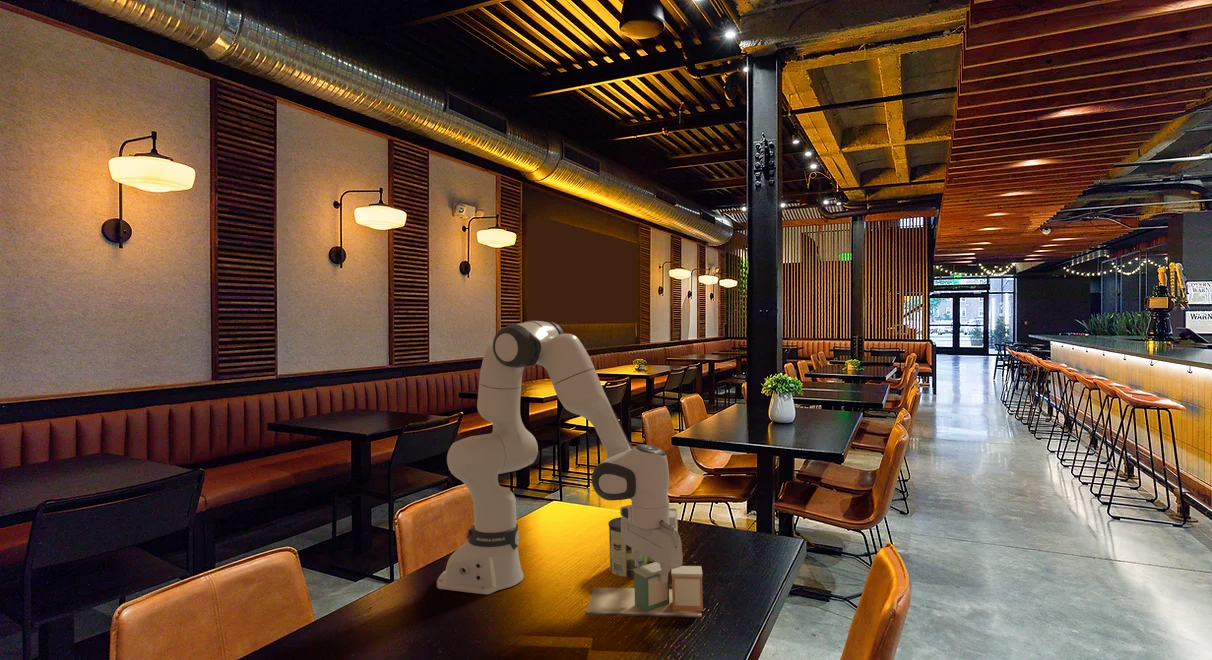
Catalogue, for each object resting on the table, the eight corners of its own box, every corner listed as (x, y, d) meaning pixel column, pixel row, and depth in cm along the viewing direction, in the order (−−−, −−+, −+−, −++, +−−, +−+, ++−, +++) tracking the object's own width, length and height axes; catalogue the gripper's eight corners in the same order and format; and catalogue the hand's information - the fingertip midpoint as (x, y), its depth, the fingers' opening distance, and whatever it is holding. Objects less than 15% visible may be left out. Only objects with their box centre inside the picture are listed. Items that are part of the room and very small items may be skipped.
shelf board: (586, 620, 133) (585, 612, 133) (593, 593, 147) (593, 586, 147) (702, 624, 130) (701, 615, 130) (698, 595, 144) (698, 588, 144)
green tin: (634, 604, 137) (633, 568, 137) (657, 596, 141) (656, 561, 141) (646, 612, 133) (646, 575, 133) (670, 603, 137) (669, 567, 137)
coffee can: (650, 568, 162) (648, 516, 162) (645, 583, 152) (643, 529, 152) (613, 565, 164) (612, 515, 164) (606, 581, 154) (604, 527, 154)
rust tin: (672, 601, 138) (671, 565, 139) (702, 602, 138) (701, 566, 138) (672, 610, 134) (671, 573, 134) (703, 611, 133) (702, 574, 133)
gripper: (689, 525, 130) (689, 587, 130) (637, 502, 148) (637, 556, 148) (666, 530, 127) (666, 594, 127) (616, 506, 145) (616, 562, 145)
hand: (650, 574), depth 138 cm, fingers open, 8 cm apart
